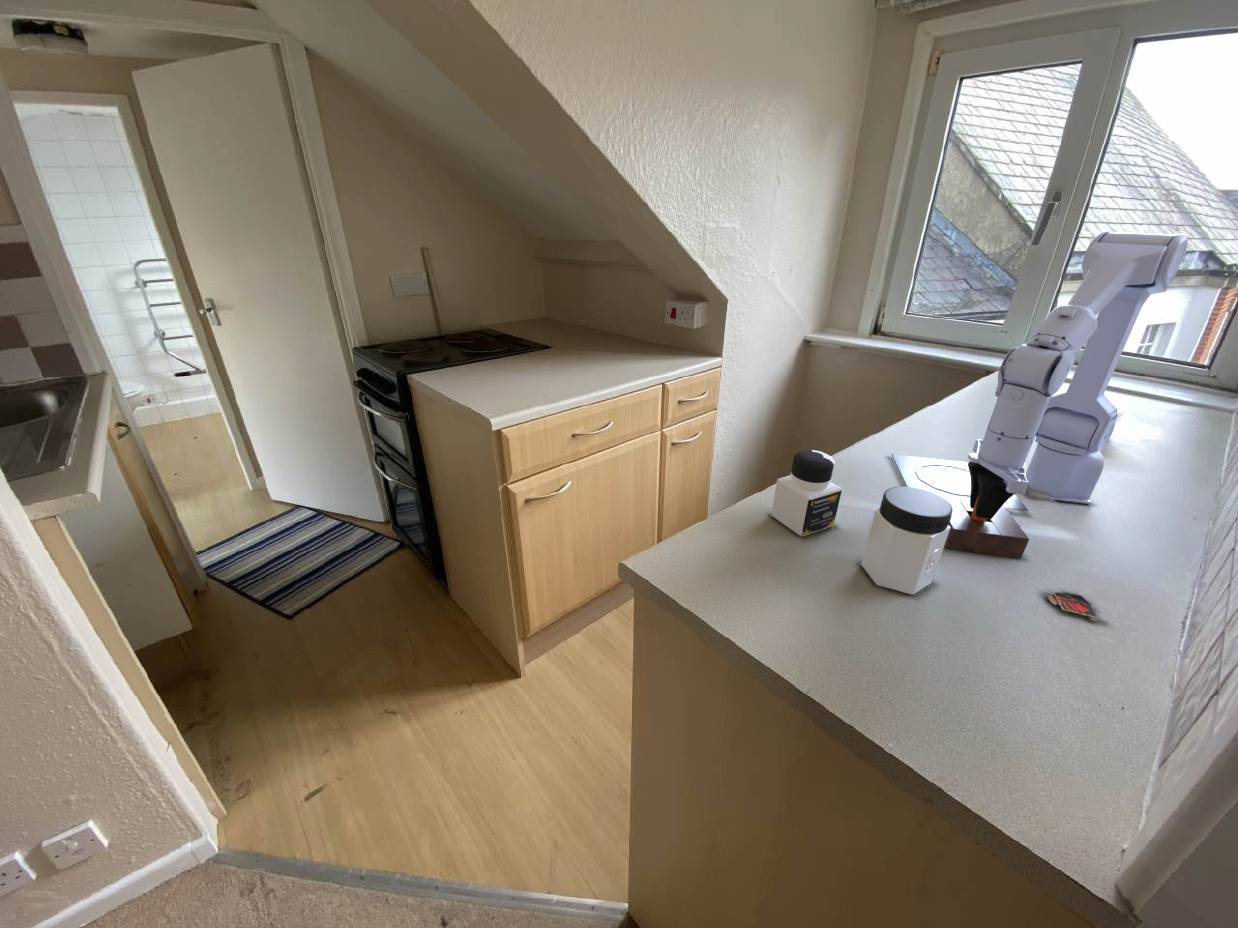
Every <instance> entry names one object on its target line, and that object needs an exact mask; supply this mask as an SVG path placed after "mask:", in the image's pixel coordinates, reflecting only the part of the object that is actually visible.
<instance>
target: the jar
mask: <svg viewBox="0 0 1238 928" xmlns="http://www.w3.org/2000/svg"><path fill="white" fill-rule="evenodd" d="M880 502H881V503H880V505H879V508H877V509H875V511H874V515H873V518H872V522H871V526H870V530H869V533H868V538H867V541H866V544H865V548H864V552H863V556H862V559H861V563H860V566H861V567H862V568H863V569H864V570H865V572H866V573H867V575H868V576H869V577H870V578H871V580H872V581H873V583H874V584H875V585H876V586H877V587H882V588H885V589H886V588H887V589H890V590H893V591H896V592H897V591H898V592H901V593H904V594H908V595H910V596H911V595H912V596H914V595H916V594H917V593H918V592H920V591H922V590H923V589H924V588H926V587H928V586H929V585H930V584H932V582H933V580H934V577H935V573H936V570H937V567H938V565H939V562H940V559H941V556H942V553H943V550H944V548H945V546H946V545H945V542H946V539H947V537H948V534H949V531H950V528H951V527H950V526H949V525H948V524H949V523H950V520H951V516H952V511H953V509H952V506H951V505H950V503H949V502H948V501H946V500H945V499H944V498H942V497H940V496H939V495H937V494H934V493H932V492H929V491H926V490H923V489H919V488H914V487H907V486H893V487H890V488H888V489H886V490H885V491H884V492H883V494H882V499H881V501H880Z"/></svg>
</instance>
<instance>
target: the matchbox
mask: <svg viewBox="0 0 1238 928" xmlns="http://www.w3.org/2000/svg"><path fill="white" fill-rule="evenodd" d="M1046 597H1047V600H1049V601H1050V603H1051V604H1052V605H1054V606H1057V605H1059V606H1060V609H1061V610H1062V611H1065V612H1072V613H1074V614H1079V615H1083V616H1089V617H1090V618H1089V620H1091V621H1092V622H1100V623H1101V622H1102V620H1099V619H1097V618H1099V615H1098V614H1097V611H1096V610H1095V609H1094V608H1093V607H1092V604H1091V602H1089V601H1088V600H1087V599H1085V598H1084V597H1083V595H1080V594H1076V593H1070V592H1065V591H1063V592H1062V591H1061V592H1059V591H1058V592H1057V591H1053V594H1047V595H1046ZM1091 617H1093V618H1091Z"/></svg>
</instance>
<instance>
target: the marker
mask: <svg viewBox="0 0 1238 928" xmlns="http://www.w3.org/2000/svg"><path fill="white" fill-rule="evenodd" d="M978 495H979V494H978ZM977 500H978V497H977ZM977 500H976V503H975V506H974V508H973V511H972V514H971V517H970V518H971V519H972V520H977V521H984V522H985V521H986V518H981V517H977V516H976V504H977Z"/></svg>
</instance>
